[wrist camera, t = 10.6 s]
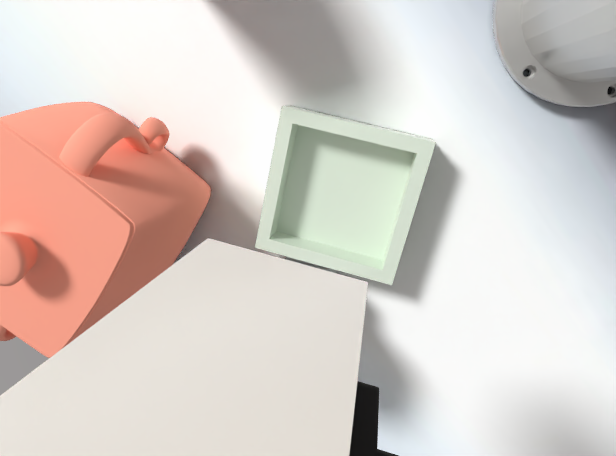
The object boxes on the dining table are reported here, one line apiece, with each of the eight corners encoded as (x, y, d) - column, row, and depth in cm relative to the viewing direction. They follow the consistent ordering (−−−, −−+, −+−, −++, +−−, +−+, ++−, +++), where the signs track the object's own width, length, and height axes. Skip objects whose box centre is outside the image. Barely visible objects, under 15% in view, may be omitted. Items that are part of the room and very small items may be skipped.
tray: (431, 138, 33) (435, 142, 30) (391, 270, 36) (391, 285, 33) (290, 105, 34) (281, 106, 31) (265, 236, 37) (254, 247, 34)
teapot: (56, 15, 35) (-142, -35, 22) (248, 164, 36) (167, 201, 23) (-27, 204, 42) (-217, 252, 29) (136, 327, 42) (23, 428, 29)
